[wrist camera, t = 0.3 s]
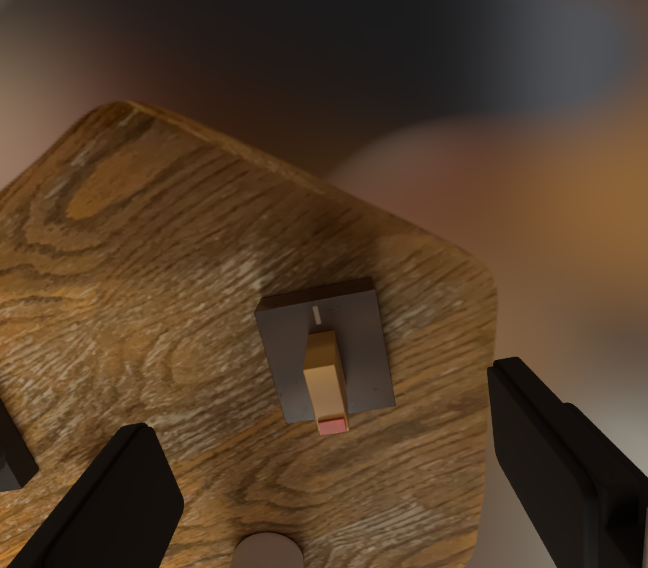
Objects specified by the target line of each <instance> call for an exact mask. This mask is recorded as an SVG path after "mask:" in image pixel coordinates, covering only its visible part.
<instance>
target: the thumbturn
mask: <svg viewBox="0 0 648 568" xmlns="http://www.w3.org/2000/svg"><path fill="white" fill-rule="evenodd" d="M303 372H304V376H305V380H306V384H307V388H308V392H309V395H310V399H311V403H312V407H313V411H314V415H315V419H316V423H317V427H318V431H319V434H320V435H321V436H322V435H328V434H334V433H341V432H347V431H349V415H348V400H347V386H346V382H345V377H344V373H343V368H342V363H341V359H340V354H339V350H338V345H337V341H336V336H335V331H334V330H332V331H326V332H321V333H315V334H310V335H308V339H307V346H306V353H305V361H304V368H303Z"/></svg>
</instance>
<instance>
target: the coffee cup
mask: <svg viewBox="0 0 648 568" xmlns="http://www.w3.org/2000/svg"><path fill="white" fill-rule="evenodd" d="M230 568H304V562H303V555H302V552H301V550H300V549H299V547H298V546H297V545H296V544H295V543H294V542H293V541H292V540H290V539H289V538H287V537H285V536H283V535H280V534H276V533H268V532H267V533H258V534H254V535H251V536H249V537H247V538H245V539H244V540H243V541H242V542H241V543H240V544H239V545H238V546H237V548H236V550H235V552H234V555H233V558H232V561H231V565H230Z"/></svg>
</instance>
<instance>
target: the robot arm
mask: <svg viewBox="0 0 648 568" xmlns="http://www.w3.org/2000/svg"><path fill="white" fill-rule="evenodd" d="M487 376H488V386H489V396H490V406H491V416H492V426H493V436H494V446H495V453H496V456H497V459H498V462H499V464H500V466H501V468H502V469H503V471H504V473H505V475H506V477H507V478H508V480H509V482H510V484H511V486H512V487H513V489H514V491H515V493H516V495H517V497H518V498H519V500H520V502H521V504H522V505H523V507H524V509H525V511H526V513H527V514H528V516H529V518H530V520H531V521H532V523H533V525H534V527H535V529H536V530H537V532H538V534H539V536H540V538H541V540H542V541H543V543H544V545H545V547H546V548H547V550H548V552H549V554H550V556H551V558H552V559H553V561H554V563H555V565H556V567H557V568H648V477H647V476H645V474H644V473H643V472H642V471H641V470H640V469H638V467H637V466H635V464H633V462H631V460H630V459H629V458H627V457H626V456H625V455H624V454H623V453H622V452H621V451H620V450H619V449H618V448H617V447H616V446H615V445H614V444H613V443H612V442H611V441H610V440H609V439H608V438H607V437H606V436H605V435H604V434H603V433H602V432H601V431H600V430H599V429H598V428H597V427H596V426H595V425H594V424H593V423H592V422H591V421H590V420H589V419H588V418H587V417H586V416H585V415H584V414H583V413H582V412H581V411H580V410H579V409H578V408H577V407H576V406H574V405H573V404H571V403H562V402H561V400H560V399H559V398H558V397H557V396H556V395H555V394H554V393H553V392H552V391H551V390H550V389H549V388H548V387H547V386H546V385H545V384H544V383H543V382H542V381H541V380H540V379H539V378H538V377H537V376H536V374H534V372H533V371H532V370H531V369H530V368H529V367H528V366H527V365H526V364H525V363H524V362H523V361H522V360H521V359H520V358H519V357H511V358H505V359H499V360H495V361H494V363H493V366H492V367H488V368H487ZM183 509H184V499H183V496H182V494H181V492H180V489H179V487H178V485H177V482H176V480H175V478H174V475H173V473H172V471H171V468H170V466H169V464H168V461H167V459H166V457H165V454H164V452H163V450H162V447H161V445H160V443H159V440H158V438H157V436H156V433H155V431H154V429H153V428H152V427H148V425H147V424H145V423H137V424H131V425H126V426H122V427H121V428H120V429H119V430H118V431H117V432H116V433H115V435H114V436H113V437H112V438H111V440H110V441H109V442H108V443H107V445H106V446H105V447H104V448H103V449H102V451H101V452H100V453H99V454H98V456H97V457H96V458H95V459H94V461H93V462H92V463H91V464H90V466H89V467H88V468H87V469H86V470H85V472H84V473H83V474H82V475H81V477H80V478H79V479H78V480H77V482H76V483H75V484H74V485H73V486H72V488H71V489H70V490H69V491H68V493H67V494H66V495H65V496H64V498H63V499H62V500H61V501H60V502H59V504H58V505H57V506H56V507H55V509H54V510H53V511H52V512H51V514H50V515H49V516H48V517H47V518H46V520H45V521H44V522H43V523H42V525H41V526H40V527H39V528H38V530H37V531H36V532H35V533H34V535H33V536H32V537H31V538H30V539H29V541H28V542H27V543H26V544H25V546H24V547H23V548H22V549H21V551H20V552H19V553H18V554H17V555H16V557H15V558H14V559H13V560H12V562H11V563H10V564H9V565H8V567H7V568H159V566H160V564H161V562H162V559H163V557H164V555H165V552H166V550H167V548H168V545H169V543H170V541H171V539H172V536H173V534H174V532H175V529H176V527H177V525H178V522H179V520H180V518H181V515H182V513H183Z"/></svg>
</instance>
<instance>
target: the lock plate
mask: <svg viewBox="0 0 648 568" xmlns="http://www.w3.org/2000/svg"><path fill="white" fill-rule="evenodd" d="M254 314H255V317H256V321H257V324H258V328H259V331H260V335H261V338H262V342H263V345H264V349H265V352H266V356H267V359H268V363H269V366H270V370H271V373H272V377H273V380H274V384H275V387H276V391H277V394H278V398H279V401H280V405H281V408H282V412H283V415H284V419H285V422H286V424H288V423H294V422H301V421H307V420H313V419H315V415H314V411H313V407H312V403H311V399H310V395H309V392H308V388H307V384H306V380H305V376H304V372H303V368H304V361H305V353H306V346H307V339H308V335H310V334H315V333H321V332H326V331H332V330H334V331H335V336H336V341H337V345H338V350H339V354H340V359H341V363H342V368H343V373H344V377H345V382H346V386H347V400H348V414H350V413H356V412H362V411H369V410H375V409H381V408H387V407H393V406H396V403H395V398H394V392H393V386H392V381H391V375H390V369H389V363H388V358H387V352H386V346H385V340H384V335H383V329H382V323H381V318H380V312H379V306H378V300H377V295H376V289H375V286H374V284H373V281H372V278H371V277H370V278H364V279H359V280H354V281H349V282H343V283H338V284H333V285H328V286H323V287H317V288H312V289H307V290H302V291H296V292H291V293H286V294H281V295H276V296H270V297H265V298H261V300H260V302H259V304H258V306H257V308H256V310H255V311H254Z"/></svg>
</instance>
